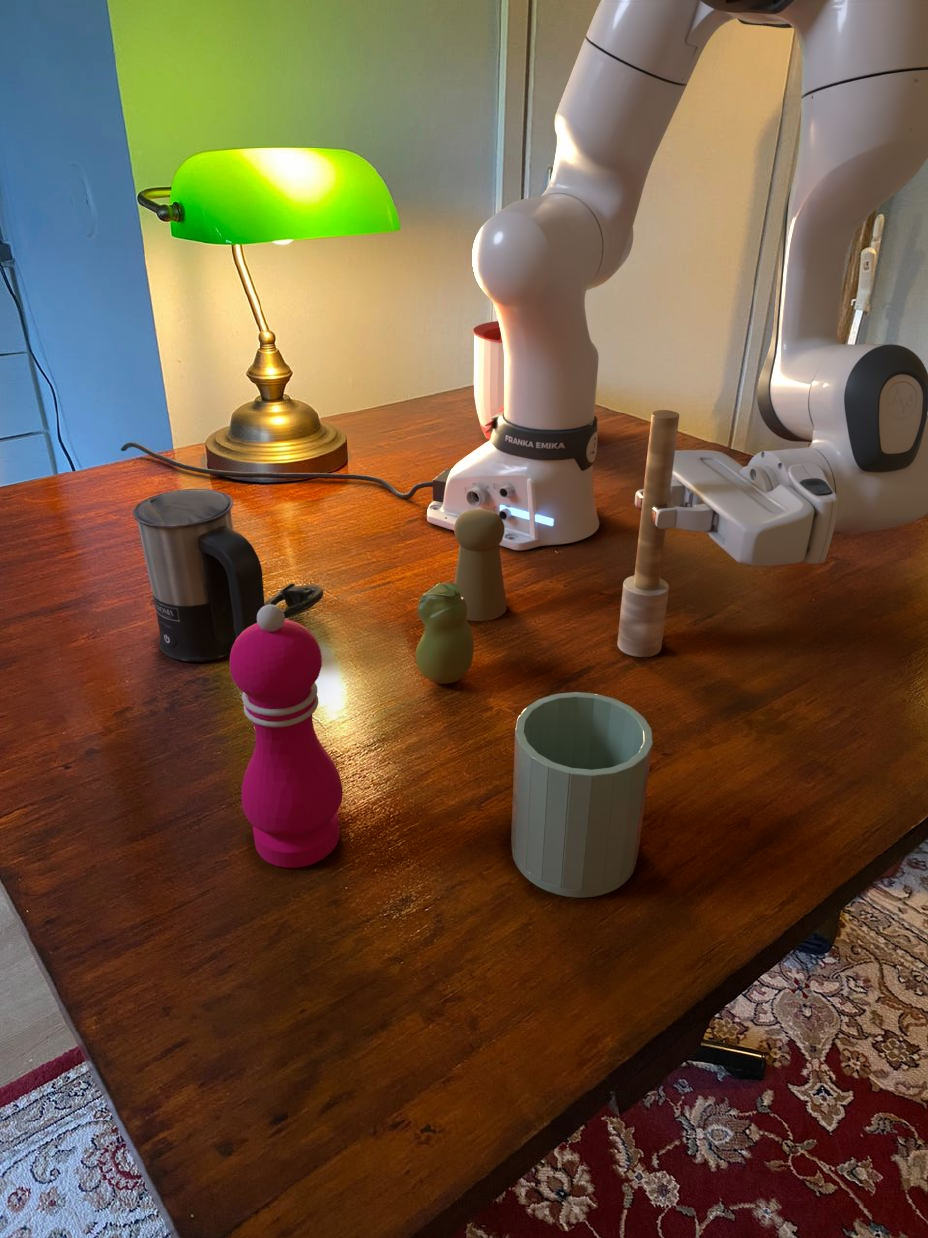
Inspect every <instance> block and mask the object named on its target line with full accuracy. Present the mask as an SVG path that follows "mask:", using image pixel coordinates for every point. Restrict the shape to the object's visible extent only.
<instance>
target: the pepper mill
mask: <svg viewBox="0 0 928 1238" xmlns="http://www.w3.org/2000/svg"><path fill="white" fill-rule="evenodd" d="M228 662H229V672H230V675H231V679H232V681H233V682H234V684H235V685H236V687H237V688H238V689H239V690H240V691H241V692H242V693H241V699H242V703H243V712H244V714H245V716H246V717H247V719H248V720H250V722H252V724H253V728H254V735H255V736H254V737H255V745H254V750H253V753H252V756H251V758H250V760H249V762H248V765H247V767H246V770H245V773H244V775H243V780H242V784H241V793H240V794H241V807H242V811H243V814H244V817H245V818H246V819H247V821H248V822H249V823H250V824H251V826H252V831H253V832H252V833H253V840H254V844H255V845H254V847H255V850H256V852H257V853H258V855H259V857H260V858H262V860H264V861H266V862H267V863H268V864H271V865H273V866H275V867H279V868H286V869H298V868H303V867H309V866H311V865H314V864H316V863H318V862H320V861H322V860H323V859H325V858H326V857H327V856H329V855H330V854H331V853H332V852H333V850H335V848H336V847H337V845H338V842H339V841H340V840H339V839H340V819H339V813H338V811H339V810H340V807H341V804H342V801H343V795H344V794H343V784H342V780H341V776H340V773H339V770H338V768H337V765H336V764H335V762H334V760H333V758H332V756H331V755H330V754H329V753H328V752H327V749H325V748H324V746H323V745H322V743H321V741H320V740H319V738H318V736H317V734H316V733H317V732H316V731H315V728H314V722H313V714H314V713H315V712H316V710H317V708H318V706H319V697H318V686H317V683H316V681H317V680H318V679H319V676H320V673H321V671H322V667H323V657H322V650H321V648H320V644H319V642H318V640H317V638H316V637H315V635H314V634H313V633H312V632H311V631H310V630H309V629H308V628H307V627H305V626H304V625H302V624H301V623H299V622H297V621H294V620H290V619H285V615H284V613H283V611H282V608H281V607H279V606H278V605H266V606H264V607H262V608H261V609H260V610H259V612H258V614H257V623H256V624H254V625H252V626H250V627H248V628H247V629H245V630H244V631H243V632H242V633H241V634H240V635H239V636H238V637H237V639H236V640H235V642H234V644H233V646H232V649H231V653H230V654H229V661H228Z"/></svg>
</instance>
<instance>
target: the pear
mask: <svg viewBox="0 0 928 1238" xmlns="http://www.w3.org/2000/svg"><path fill="white" fill-rule="evenodd" d="M417 605H418V606H417V616H418V618H419V620H420V621H421V623H423V626H424V632H423V634H422V635H421V638H420V639H419V642H418V643H417V646H416V649H415V653H414V654H415V657H414V658H415V664H416V666H417V669H418V671H419V672H420V674H421V675H422V676H423V677H424V678H425V679H427V680H428V681H430V682H433V683H436V684H439V685H449V684H453V683H456V682H458V681H459V680H461V679H462V678H464V677H465V676H466V675H467V673H468V672H469V670H470V669H471V666H472V662H473V658H474V650H475V649H474V648H475V647H474V646H475V643H474V634H473V630H472V627H471V625H470V623H469V620H467V605H466V602H465V599H464V597H461V596H460V589H459V587H458V586H457V585H456V584H454V582H444V583H442V582H436V583H435V584H434V585H433V586H431V587H430V588H429V589H428V590H427V591H425V592H423V594H421V596H420V598H419V600H418V602H417Z"/></svg>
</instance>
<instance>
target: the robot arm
mask: <svg viewBox="0 0 928 1238" xmlns="http://www.w3.org/2000/svg"><path fill="white" fill-rule="evenodd" d="M733 20H738V22H740V23H741V24H742V25H747V26H759V27H769V28H777V29H793V31H794V32H795V34H796V38H797V40H798V43H799V49H800V50H799V51H800V59H801V60H800V61H801V88H800V89H801V95H800V99H801V100H800V103H801V104H800V128H799V140H798V141H799V142H798V150H797V158H796V163H795V164H796V165H795V170H794V175H793V180H792V183H791V187H790V189H789V192H788V195H787V200H786V203H785V207H784V208H785V209H784V213H783V218H782V226H781V233H780V234H781V235H780V242H779V243H780V244H779V252H778V253H779V255H778V264H777V265H778V266H777V277H776V278H777V279H776V291H775V301H774V312H773V325H772V332H771V339H770V345H769V348H768V351H767V354H766V356H765V360H764V363H763V366H762V368H761V372H760V375H759V378H758V383H757V389H756V400H757V408H758V411H759V414H760V416H761V420H762V421H763V423H764V424H765V426H766V427H767V428H768V429H769V430H770V431H771V432H772V433H773V434H774V435H776V437H778V438H780V439H782V440H785V441H788V442H799V443H810V445H809V446H807V447H806V446H805V447H795V448H794V447H793V448H782V449H772V450H763V451H759V452H758V453H756V454H755V455H754V456H752V458H751V459H750V460H749V462H748V464H747V465H745V466H743V464H741V463H740V462H738V461H737V460H735V459H734V458H732V457H731V456H730V455H728V454H726V453H724V452H721V451H717V450H710V449H683V450H681V449H680V450H675V456H674V464H673V472H672V481H671V489H670V497H669V504H663V505H655V506H654V507H653V508H652V516H651V521H652V522H653V523H654V524H655V525H656V526H657V527H658V528H659V529H665V528H666V529H674V528H675V529H679V530H684V531H690V532H694V533H701V532H703V533H705V535H706V536H708V537H709V538H710V539H711V540H712V541H713V542H714V543H716V544H717V545H718V547H720V548H721V549H722V550H723V551H724V552H726V553H727V554H728V555H729V556H730V557H731V558H732V559H733V560H734V561H735V562H736V563H738V564H741V565H744V566H748V567H754V568H765V567H766V568H769V567H780V566H789V565H796V564H799V563H804V564H806V565H820V564H823V563H825V562H826V559H827V557H828V553H829V550H830V546H831V542H832V539H833V535H834V533H838V534H842V535H860V534H867V533H875V532H879V531H885V530H890V529H895V528H898V527H902V526H906V525H909V524H912V523H914V522H916V521H918V520H920V519H922V518H923V517H925V516H927V515H928V371H927V368H926V366H925V364H924V363H923V361H922V360H921V358H920V357H919V356H918V355H917V354H916V353H915V352H913V350H911V349H910V348H908V347H905V346H903V345H900V344H892V343H891V344H890V343H889V344H884V343H883V344H882V343H858V344H855V343H854V344H852V343H851V344H850V343H848V344H847V343H842V342H841V339H840V337H839V334H838V323H839V313H840V306H841V298H842V297H841V296H842V288H843V280H844V279H843V278H844V272H845V263H846V257H847V252H848V250H849V247H850V244H851V242H852V240H853V239H854V237H855V234H856V233H857V232H858V230H859V228H860V227H861V226H862V225H863V223H864V222H865V221H866V220H867V219H868V218H869V217H870V216H871V215H872V214H873V213H874V212H875V211H876V210H877V209H878V208H879V207H881V205H883V204H884V203H885V202H887V201H888V200H889V199H891V198H892V197H893V196H895V195H896V194H897V193H899V192H900V191H901V190H902V189H903V188H904V187H905V186H906V185H907V184H908V183H909V182H911V180H912V179H913V178H914V177H915V176H916V175H917V174H918V172H919V171H920V170H921V168H922V167H923V166H924V164H925V163H926V162H927V160H928V0H600V2H599V4H598V6H597V8H596V10H595V13H594V15H593V17H592V20H591V22H590V24H589V27H588V29H587V31H586V32H587V33H586V35H585V37H584V39H583V41H582V44H581V47H580V50H579V52H578V54H577V57H576V60H575V63H574V65H573V67H572V70H571V73H570V76H569V78H568V81H567V84H566V86H565V89H564V92H563V94H562V96H561V99H560V102H559V104H558V107H557V110H556V112H555V116H554V130H555V135H556V149H555V156H554V160H553V161H554V162H553V168H552V172H551V177H550V180H549V183H548V185H547V187H546V189H545V190H544V191H543V193H542V194H541V195H540V196H534V197H527V198H523V199H519V200H515V201H513V202H511V203H510V204H508V205H507V206H505V207H503V208H502V209H500V210H499V211H497V212H496V213H494V214H493V216H491V217H490V218H488V220H486V221H485V222H484V223H483V224H482V226H481V227H480V229H479V230H478V232H477V234H476V236H475V239H474V242H473V246H472V257H471V258H472V267H473V268H472V269H473V272H474V276H475V279H476V281H477V283H478V285H479V287H480V288H481V290H482V292H483V293H484V295H486V296H487V298H489V299H490V301H491V302H492V304H493V307H494V311H495V313H496V318H497V321H498V322H499V326H500V330H501V335H502V340H503V347H504V358H505V392H504V407H502V408H501V409H500V410H499V413H498V414H497V415H495V416H493V417H492V418H491V421H489V422H488V423H486V424H485V426H488V427H487V428H486V430H485V433H488V432H489V431H491V439H490V440H488V441H487V442H485V443H484V444H482V445H480V446H479V447H477V448H476V449H475V450H473V451H472V452H471V453H469V454H468V455H466V456H465V457H463V458H462V459H461V460H459V461H458V462H457V463H456V464H455V465H454V466H453V468H449V467H448V468H446V469H445V470H443V471H442V472H441V473H440V474H438V475H437V476H435V477H434V478H433V479H432V481H423V482H419V483H417V484H415V485H413V486H412V488H411V489H409V492H406V493H404V492H403V493H402V492H400V491H399V490H398V489H396V488H395V487H394V486H393V485H392V484H391V483H390V482H389V481H387V480H385V479H383V478H380V477H377V476H372V475H365V474H357V473H356V474H355V473H354V474H353V473H327V472H326V473H325V472H324V473H323V472H321V473H320V472H248V471H245V472H244V471H231V470H230V471H229V470H220V469H219V470H218V469H211V468H204V467H199V466H194V465H190V464H187V463H184V462H180V461H177V460H174V459H172V458H170V457H168V456H165V455H163V454H160V453H157V452H155V451H153V450H152V449H149V448H148V447H146V446H145V445H142V444H140V443H137V442H132V441H130V442H127V443H125V444H124V445H123V446H122V447H121V448H120V451H121V452H126V451H127V450H128V449H129V448H135V449H138V450H140V451H142V452H143V453H145V454H147V455H148V456H150V457H152V458H154V459H157V460H160V461H162V462H165V463H167V464H169V465H171V466H174V467H176V468H180V469H182V470H187V471H190V472H195V473H200V474H205V475H214V476H222V477H233V478H234V477H235V478H252V479H253V478H255V479H256V478H258V479H259V478H261V479H327V480H329V479H330V480H335V479H336V480H358V481H367V482H372V483H375V484H380V485H382V487H384V488H386V489H387V490H388V491H389V492H390V493H392V494H393V495H394V496H396V497H398V498H400V499H402V500H403V499H404V500H406V499H408V500H409V499H411V498H413V497H414V496H415V495H416V493H417V491H418V490H421V489H423V488H432V501H431V503H430V504H429V505H428V508H427V509H426V510H427V511H426V522H428V523H429V524H433V525H435V526H437V527H438V526H439V527H441V528H444V529H447V530H452V531H454V526H455V522H456V520H457V518H458V517H459V515H461V514H462V513H464V512H466V511H469V510H474V509H485V510H490V511H492V512H495V513H497V514H498V515H499V516H500V517H501V519H502V521H503V523H504V527H505V529H504V535H503V539H502V541H501V543H500V544H499V547H500V546H501V547H504V548H507V549H510V550H514V551H527V550H531V549H534V548H539V547H543V546H556V545H565V544H566V545H567V544H572V543H575V542H580V541H582V540H585V539H587V538H588V537H590V536H592V535H593V534H595V533H596V532H597V531H598V529H599V528H600V520H599V515H598V511H597V506H596V499H595V491H594V489H595V488H594V474H593V473H594V472H593V471H594V470H593V465H594V464H595V459H596V456H597V449H598V417H597V416H596V414H595V412H596V400H597V388H598V387H597V386H598V375H599V374H598V372H599V360H600V357H599V352H598V349H597V347H596V345H595V344H594V342H593V341H592V339H591V335H590V332H589V327H588V322H587V314H586V304H585V303H586V301H585V299H586V295H587V291H590V290H592V289H595V288H598V287H600V286H602V285H603V284H605V283H606V282H607V281H609V280H610V279H611V278H612V277H613V276H614V275H615V274H617V272H618V271H619V270H620V269H621V268H622V266H623V265H624V264H625V262H626V261H627V259H628V257H629V256H630V253H631V250H632V247H633V242H634V224H635V220H636V217H637V214H638V211H639V206H640V204H641V203H640V202H641V199H642V195H643V192H644V189H645V184H646V181H647V177H648V176H649V175H648V174H649V172H650V169H651V167H652V163H653V162H654V159H655V156H656V153H657V152H658V150H659V147H660V145H661V143H662V141H663V138H664V137H665V133H666V132H667V129H668V127H669V125H670V123H671V121H672V119H673V117H674V114H675V112H676V110H677V108H678V106H679V103H680V101H681V100H682V97H683V94H684V92H685V90H686V88H687V86H688V84H689V82H690V79H691V77H692V75H693V73H694V70H695V69H696V66H697V63H698V61H699V60H700V57H701V55H702V53H703V52H704V50H705V47H706V45H707V43H708V42H709V40H710V39H711V37H712V36H713V35H714V33H716V31H717V30H719V28H720V27H722V26H723V25H725V24H727V23H728V22H730V21H733ZM643 491H644V488H642V489H638V490H637V491H636V492H635V496H634V505H635V507H636V508H637V509H638V510H639V511H641V510H642V501H643Z"/></svg>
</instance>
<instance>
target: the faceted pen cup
mask: <svg viewBox="0 0 928 1238" xmlns="http://www.w3.org/2000/svg"><path fill="white" fill-rule="evenodd" d="M515 723H516V724H515V729H514V730H515V731H514V752H513V754H514V755H513V778H512V779H513V781H512V783H513V784H512V807H511V809H512V811H511V832H510V833H511V837H510V840H511V841H510V844H511V855H512V859H513V861H514V863H515V865H516V867H517V869H518V870H519V872H520V873H521V874H522V875H523V876H524V878H526V879H527V880H528V881H529V882H530V883H532V884H534V885H535V886H536V887H538V888H540V889H542V890H544V891H546V892H548V893H551V894H554V895H557V896H561V897H565V898H566V897H567V898H575V899H578V898H579V899H581V898H583V899H584V898H585V899H586V898H594V897H599V896H603V895H607V894H609V893H611V892H613V891H616V890H617V889H618V888H620V887H622V886H623V885H624V884H625V883H626V882H627V881H628V880H629V879H630V878H631V876H632V875H633V873H634V871H635V869H636V866H637V860H638V857H639V851H640V845H641V844H640V843H641V836H642V827H643V823H644V822H643V820H644V813H645V805H646V799H647V791H648V783H649V776H650V775H649V774H650V767H651V759H652V753H653V752H652V751H653V745H654V740H653V729H652V728H651V726H650V724H649V723H648V721H647V719H646V718H645V717H644V716H643V715H642V714H641V713H639V712H638V711H637V710H636V709H635V708H634V707H632V706H630V705H629V704H626V703H624V702H622V701H621V700H618V699H616V698H613V697H609V696H605V695H602V694H599V693H594V692H593V693H592V692H582V691H581V692H580V691H571V692H562V693H554V694H551V695H548V696H544V697H542V698H539V699H537V700H535V701H534V702H532V703H530V704H529V705H528V706H526V707H525V708H524V709H523V710H522V712H521V713H520V714H519V716H518V717H517V719H516V722H515Z"/></svg>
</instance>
